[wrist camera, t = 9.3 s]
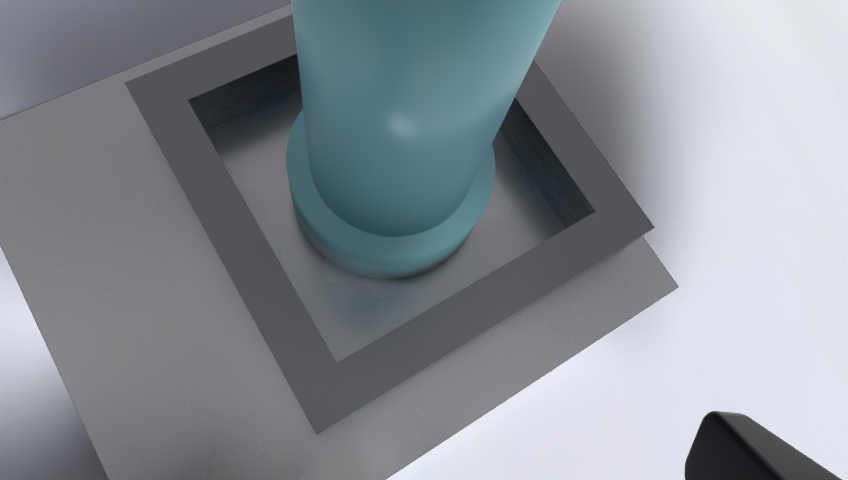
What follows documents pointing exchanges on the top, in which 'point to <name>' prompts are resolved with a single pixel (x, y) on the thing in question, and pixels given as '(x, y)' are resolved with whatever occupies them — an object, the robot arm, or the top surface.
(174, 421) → the plate
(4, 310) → the top surface
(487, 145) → the knob
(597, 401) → the top surface
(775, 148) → the top surface
